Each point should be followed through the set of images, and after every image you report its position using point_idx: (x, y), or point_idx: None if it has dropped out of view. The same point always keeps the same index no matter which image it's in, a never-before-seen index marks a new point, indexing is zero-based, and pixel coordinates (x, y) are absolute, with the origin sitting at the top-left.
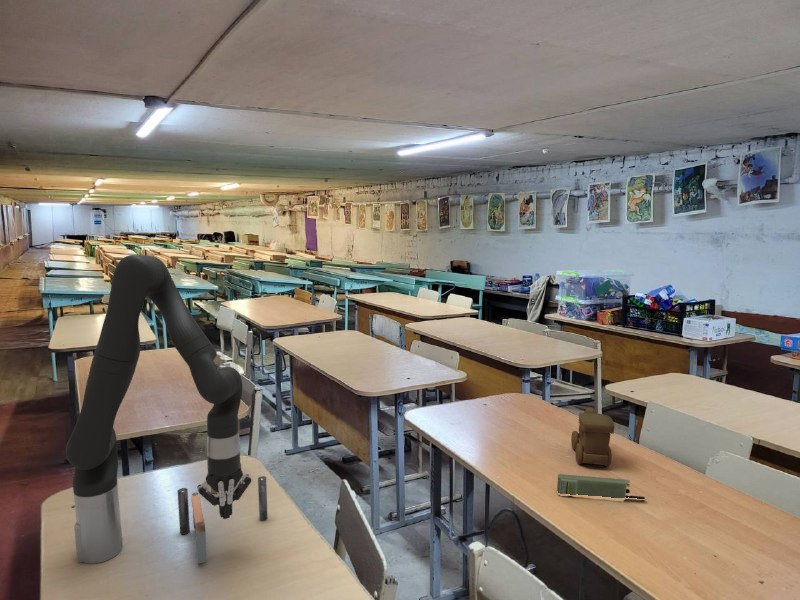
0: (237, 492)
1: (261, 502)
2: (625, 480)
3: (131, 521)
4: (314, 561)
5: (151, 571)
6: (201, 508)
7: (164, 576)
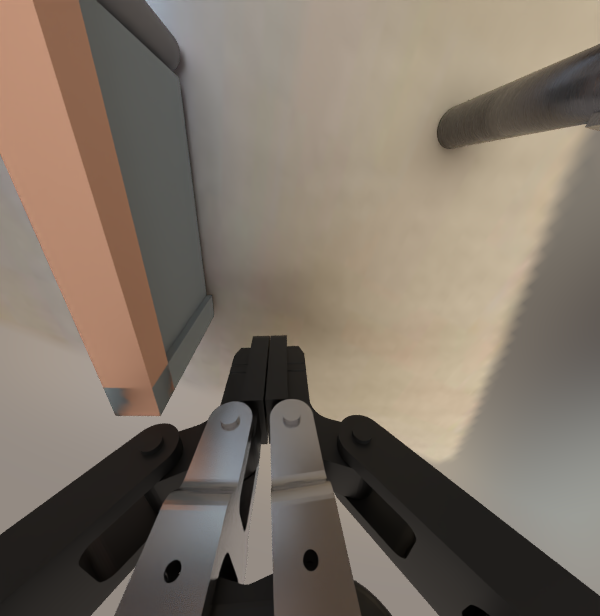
0: (370, 527)
1: (512, 129)
2: None
3: None
4: (443, 390)
5: None
6: (106, 252)
7: None
